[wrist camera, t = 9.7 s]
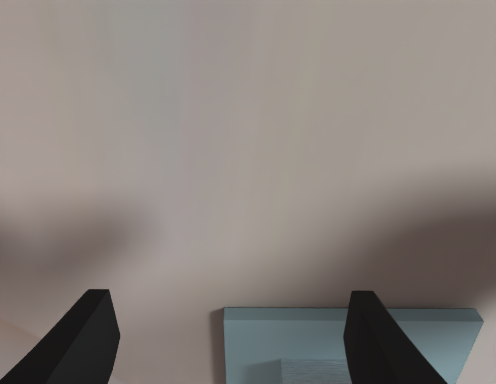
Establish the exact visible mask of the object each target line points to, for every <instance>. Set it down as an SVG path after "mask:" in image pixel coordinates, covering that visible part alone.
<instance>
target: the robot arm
mask: <svg viewBox="0 0 496 384" xmlns="http://www.w3.org/2000/svg"><path fill="white" fill-rule="evenodd" d="M119 340H120V332H119V328H118V324H117V320H116V315H115V311H114V307H113V303H112V299H111V295H110V291H109V289H88V290H87V291H86V292H85V293H84V294H83V296H82V297H81V298H80V299H79V300H78V301H77V302H76V303H75V304H74V305H73V306H72V307H71V309H70V310H69V311H68V312H67V313H66V314H65V315H64V316H63V317H62V318H61V319H60V321H59V322H58V323H57V324H56V325H55V326H54V327H53V328H52V329H51V330H50V331H49V332H48V333H47V334H46V335H45V336H44V337H43V338H42V340H41V341H40V342H39V343H38V344H37V345H36V346H35V347H34V348H33V349H32V350H31V351H30V352H29V353H28V354H27V355H26V356H25V357H24V358H23V359H22V360H21V361H20V362H19V363H18V364H17V365H15V366H14V367H13V368H12V369H11V370H10V371H9V372H8V373H7V374H6V375H5V376H4V377H3V378H2V379H1V380H0V384H108V381H109V378H110V375H111V373H112V370H113V366H114V362H115V358H116V353H117V349H118V344H119ZM343 340H344V347H345V353H346V359H347V365H348V370H349V374H350V378H351V382H352V384H448V383H447V382H446V381H445V380H444V379H443V377H442V376H441V375H440V374H439V373H438V372H437V371H436V370H435V369H434V367H433V366H432V365H431V364H430V363H429V362H428V361H427V359H426V358H425V357H424V356H423V355H422V353H421V352H420V351H419V350H418V349H417V347H416V346H415V345H414V344H413V343H412V341H411V340H410V339H409V338H408V336H407V335H406V334H405V333H404V331H403V330H402V329H401V327H400V326H399V325H398V324H397V322H396V321H395V320H394V318H393V317H392V316H391V314H390V313H389V312H388V310H387V309H386V308H385V306H384V305H383V304H382V302H381V301H380V299H379V298H378V297H377V295H376V294H375V293H374V292H373V291H352V292H351V298H350V303H349V308H348V313H347V318H346V324H345V329H344V334H343Z"/></svg>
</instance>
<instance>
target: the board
mask: <svg viewBox="0 0 496 384" xmlns="http://www.w3.org/2000/svg"><path fill="white" fill-rule="evenodd" d="M387 310H388V312H389V313H390V314H391V316H392V317H393V318H394V320H395V321H396V322H397V324H398V325H399V326H400V327H401V329H402V330H403V331H404V333H405V334H406V335H407V336H408V338H409V339H410V340H411V341H412V343H413V344H414V345H415V346H416V347H417V349H418V350H419V351H420V352H421V353H422V355H423V356H424V357H425V358H426V359H427V361H428V362H429V363H430V364H431V365H432V366H433V367H434V369H435V370H436V371H437V372H438V373H439V374H440V375H441V376H442V377H443V379H444V380H445V381H446V382H447V383H448V384H456V382H457V380H458V377H459V375H460V373H461V371H462V369H463V366H464V364H465V362H466V360H467V358H468V355H469V353H470V351H471V349H472V347H473V344H474V342H475V340H476V338H477V336H478V333H479V331H480V329H481V327H482V325H483V322H484V321H483V319H482V318H481V316H480V315H479V313H478V312H477V310H476V309H387ZM347 313H348V308H224V343H225V366H226V384H279V378H280V365H281V359H346V353H345V347H344V340H343V334H344V329H345V324H346V318H347Z"/></svg>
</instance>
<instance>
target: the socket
mask: <svg viewBox="0 0 496 384" xmlns="http://www.w3.org/2000/svg"><path fill="white" fill-rule="evenodd" d="M279 384H352V382H351V378H350V374H349V370H348V365H347V359H281V365H280V378H279Z"/></svg>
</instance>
